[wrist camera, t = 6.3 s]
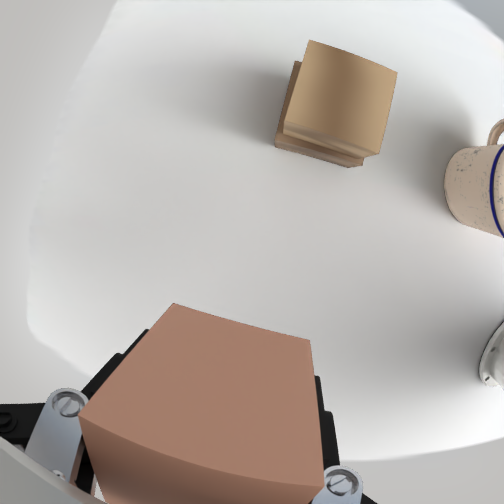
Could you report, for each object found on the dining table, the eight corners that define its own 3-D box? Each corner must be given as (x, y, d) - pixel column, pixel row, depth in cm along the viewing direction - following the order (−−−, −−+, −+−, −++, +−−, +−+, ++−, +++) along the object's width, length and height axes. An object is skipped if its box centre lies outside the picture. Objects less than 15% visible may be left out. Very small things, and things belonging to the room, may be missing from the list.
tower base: (362, 101, 24) (378, 86, 19) (347, 167, 25) (362, 165, 21) (292, 80, 24) (294, 60, 19) (275, 147, 26) (274, 139, 21)
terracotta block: (309, 340, 10) (325, 486, 4) (271, 428, 11) (258, 546, 5) (173, 302, 10) (77, 414, 4) (162, 398, 11) (105, 501, 6)
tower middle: (374, 92, 19) (397, 72, 14) (357, 159, 21) (378, 153, 16) (303, 67, 19) (309, 39, 14) (282, 133, 21) (284, 120, 16)
